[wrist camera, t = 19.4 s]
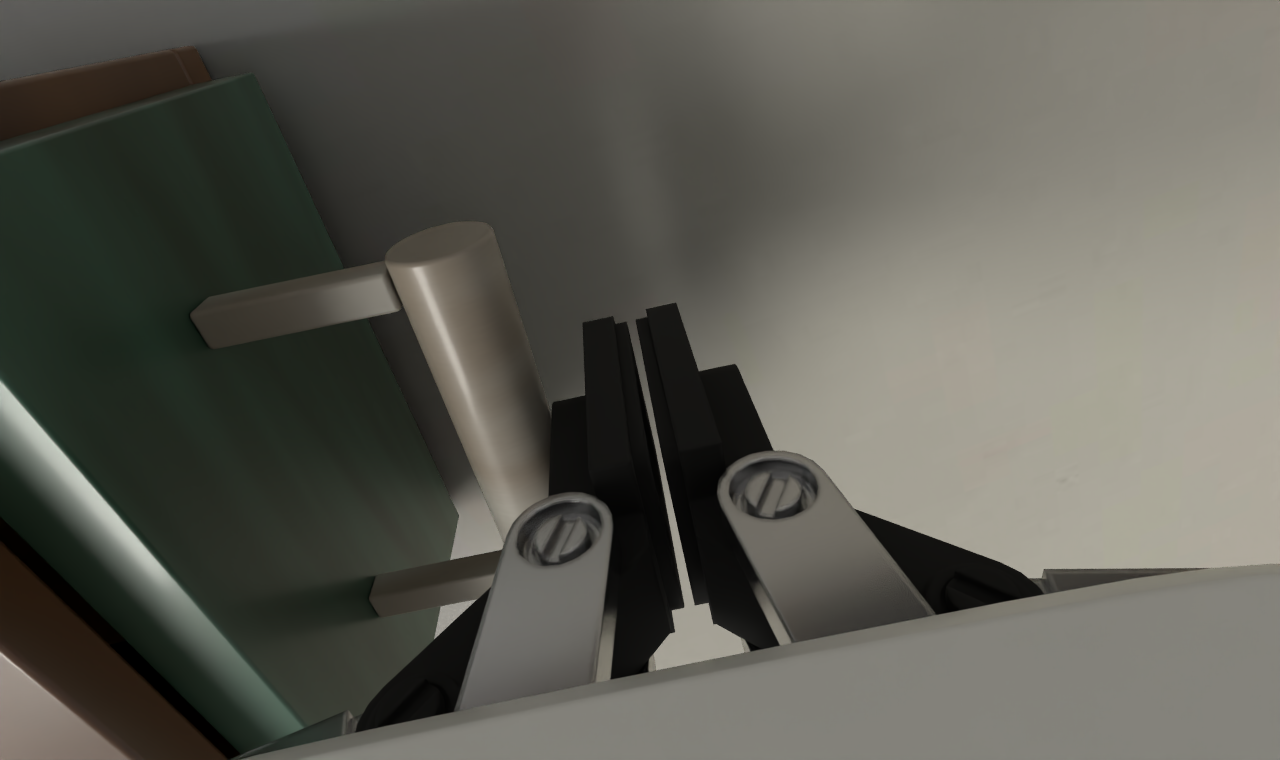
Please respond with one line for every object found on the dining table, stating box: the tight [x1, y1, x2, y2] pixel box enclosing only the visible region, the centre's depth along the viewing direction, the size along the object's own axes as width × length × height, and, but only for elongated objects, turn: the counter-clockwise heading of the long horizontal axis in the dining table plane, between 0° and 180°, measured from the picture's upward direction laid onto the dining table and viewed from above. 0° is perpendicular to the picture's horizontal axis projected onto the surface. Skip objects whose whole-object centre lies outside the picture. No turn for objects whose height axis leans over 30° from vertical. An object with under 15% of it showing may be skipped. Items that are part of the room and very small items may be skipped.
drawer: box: [0, 73, 552, 759], centre depth 12 cm, size 18×11×8 cm, turn 100°
